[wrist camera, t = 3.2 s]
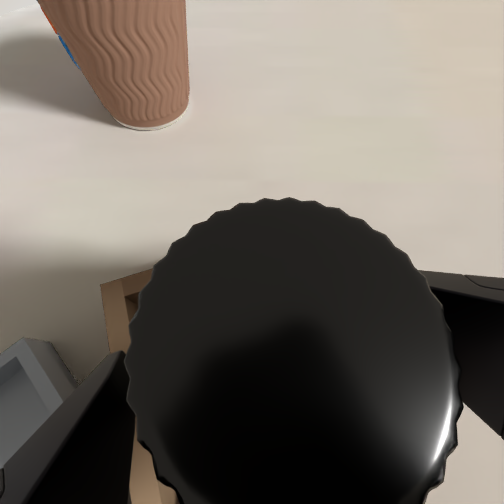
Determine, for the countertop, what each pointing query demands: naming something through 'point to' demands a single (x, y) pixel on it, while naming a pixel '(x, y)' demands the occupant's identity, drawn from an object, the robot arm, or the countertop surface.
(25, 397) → the tray
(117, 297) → the slot holder
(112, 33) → the coffee cup
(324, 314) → the supplement bottle
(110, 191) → the countertop surface
